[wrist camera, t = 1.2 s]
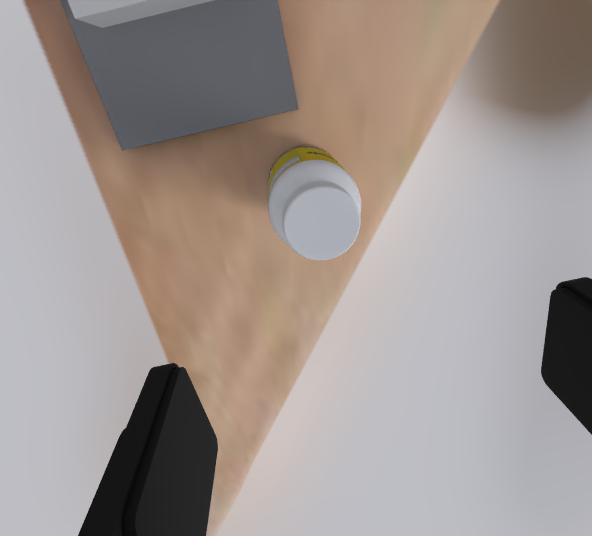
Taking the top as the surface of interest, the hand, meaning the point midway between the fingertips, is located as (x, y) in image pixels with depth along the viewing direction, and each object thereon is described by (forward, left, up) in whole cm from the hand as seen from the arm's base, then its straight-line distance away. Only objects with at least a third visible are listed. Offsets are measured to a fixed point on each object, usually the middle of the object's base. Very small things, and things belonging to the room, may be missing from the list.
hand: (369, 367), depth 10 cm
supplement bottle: (0, 0, -20) cm, 20 cm away
